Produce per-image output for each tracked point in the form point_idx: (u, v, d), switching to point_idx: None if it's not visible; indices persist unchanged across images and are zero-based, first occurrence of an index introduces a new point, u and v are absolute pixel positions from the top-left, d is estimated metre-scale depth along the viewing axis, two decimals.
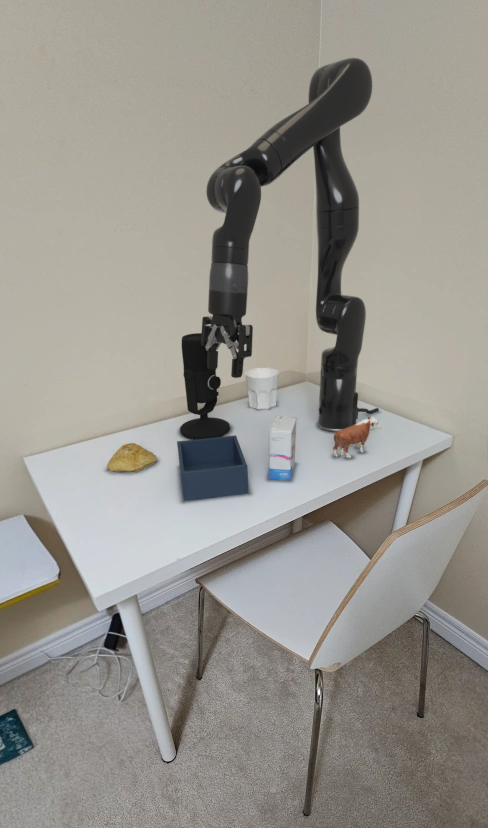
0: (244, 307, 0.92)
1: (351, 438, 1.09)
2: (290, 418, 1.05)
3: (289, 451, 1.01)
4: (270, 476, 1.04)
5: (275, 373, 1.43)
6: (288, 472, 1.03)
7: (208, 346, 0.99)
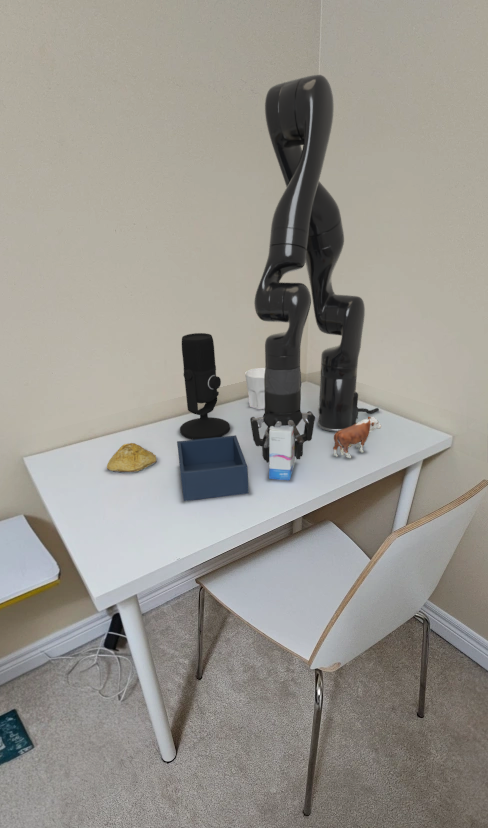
0: None
1: (351, 438, 1.09)
2: None
3: (289, 451, 1.01)
4: (270, 476, 1.04)
5: None
6: (288, 472, 1.03)
7: (268, 443, 1.03)
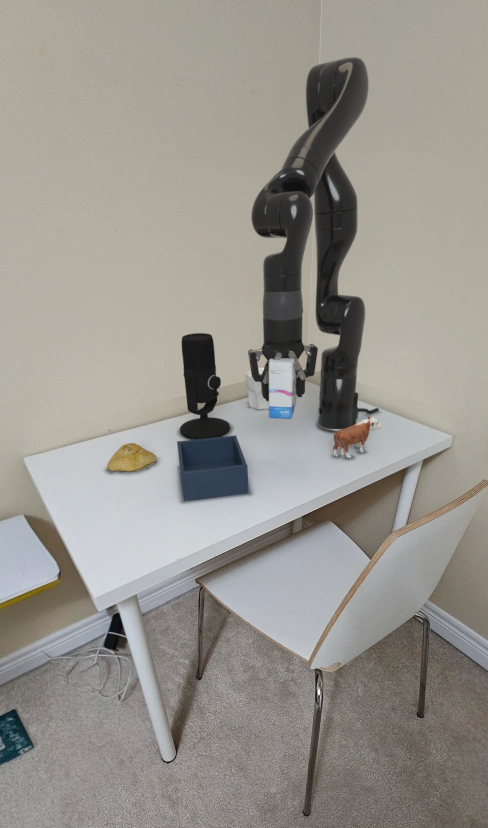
0: None
1: (351, 438, 1.09)
2: None
3: (290, 385, 0.93)
4: (270, 415, 0.97)
5: None
6: (289, 410, 0.96)
7: (267, 379, 0.95)
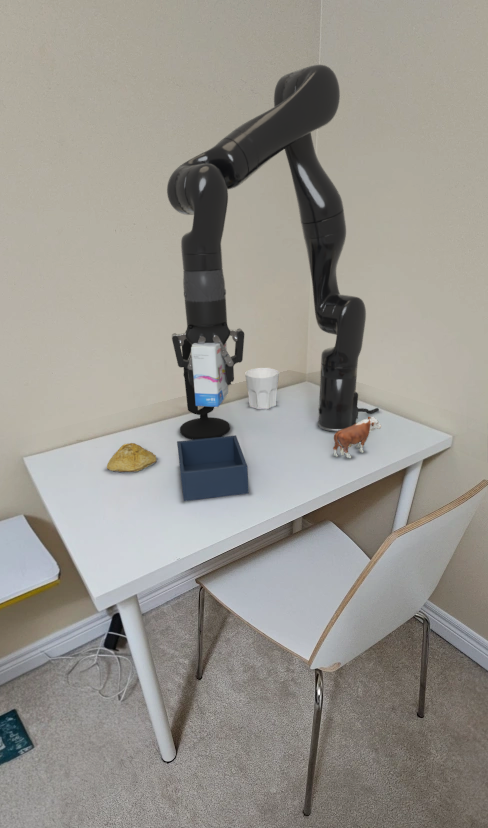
0: None
1: (351, 438, 1.09)
2: None
3: (214, 371, 0.89)
4: (196, 402, 0.93)
5: (275, 373, 1.43)
6: (215, 397, 0.92)
7: None
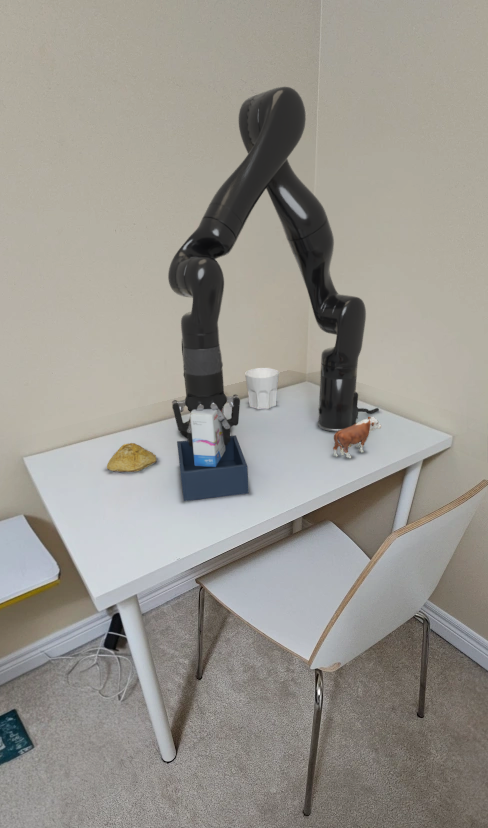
0: None
1: (351, 438, 1.09)
2: None
3: (212, 436, 0.96)
4: (195, 463, 1.00)
5: (275, 373, 1.43)
6: (213, 458, 0.98)
7: None
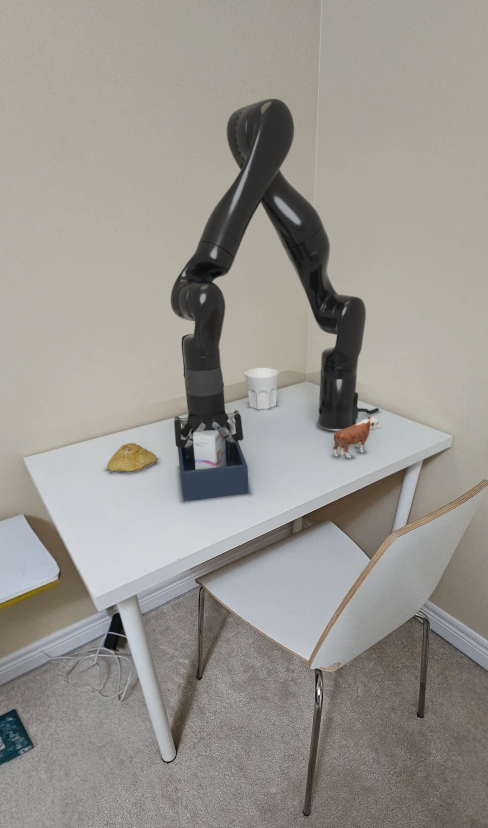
0: None
1: (351, 438, 1.09)
2: None
3: (214, 457, 0.98)
4: None
5: (275, 373, 1.43)
6: None
7: (189, 445, 0.99)
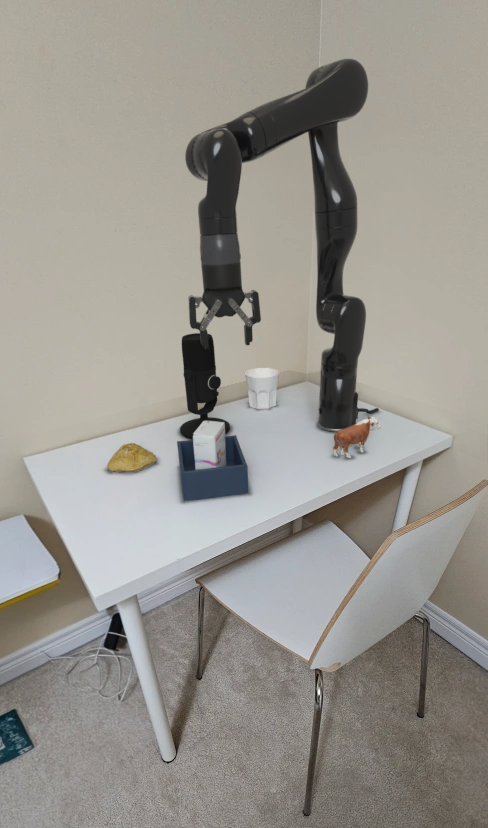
0: None
1: (351, 438, 1.09)
2: (218, 423, 1.02)
3: (214, 457, 0.98)
4: None
5: (275, 373, 1.43)
6: None
7: (205, 326, 0.95)
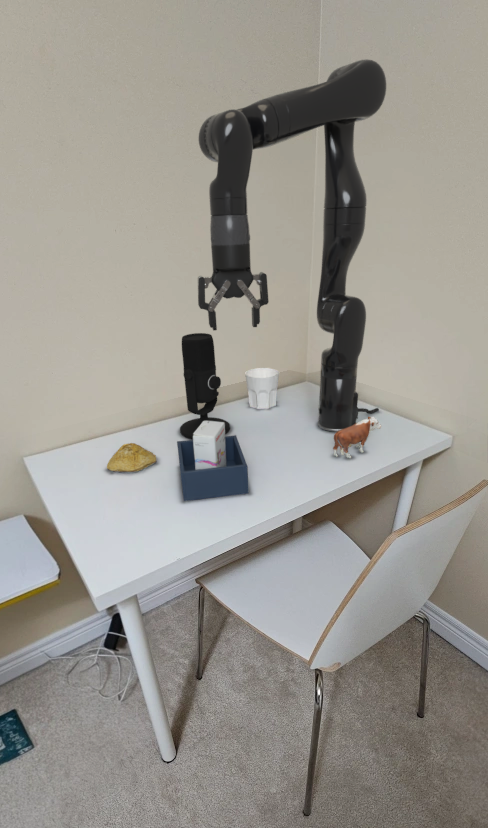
0: None
1: (351, 438, 1.09)
2: (218, 423, 1.02)
3: (214, 457, 0.98)
4: None
5: (275, 373, 1.43)
6: None
7: (213, 307, 0.96)
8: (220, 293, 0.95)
